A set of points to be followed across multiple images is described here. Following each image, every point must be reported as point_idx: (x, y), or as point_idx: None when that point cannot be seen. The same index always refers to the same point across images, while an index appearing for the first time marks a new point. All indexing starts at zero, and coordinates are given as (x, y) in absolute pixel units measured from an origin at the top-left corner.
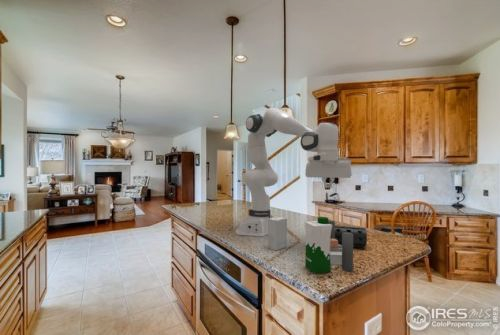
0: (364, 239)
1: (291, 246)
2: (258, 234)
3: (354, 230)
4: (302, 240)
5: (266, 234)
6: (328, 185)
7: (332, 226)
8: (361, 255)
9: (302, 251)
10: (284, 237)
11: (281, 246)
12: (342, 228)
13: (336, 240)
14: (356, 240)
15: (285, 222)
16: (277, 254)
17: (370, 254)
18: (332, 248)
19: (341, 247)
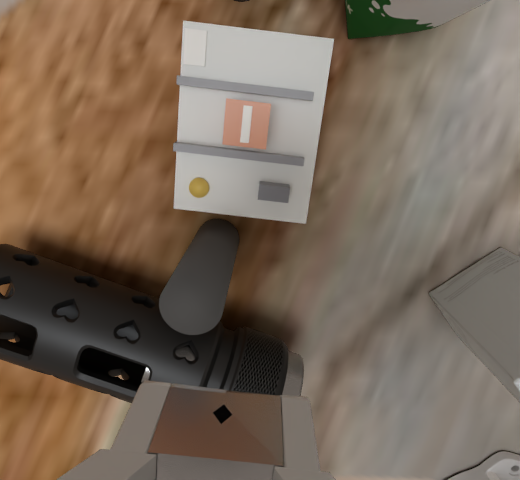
0: (6, 250)
1: (396, 305)
2: (514, 470)
3: (28, 305)
4: (303, 389)
5: (468, 473)
6: (225, 421)
7: (193, 265)
8: (86, 163)
9: (367, 231)
10: (468, 305)
11: (470, 272)
12: (95, 338)
13: (232, 107)
14: (53, 262)
15: (512, 356)
16: (512, 194)
17: (33, 175)
18: (266, 93)
19: (192, 144)
